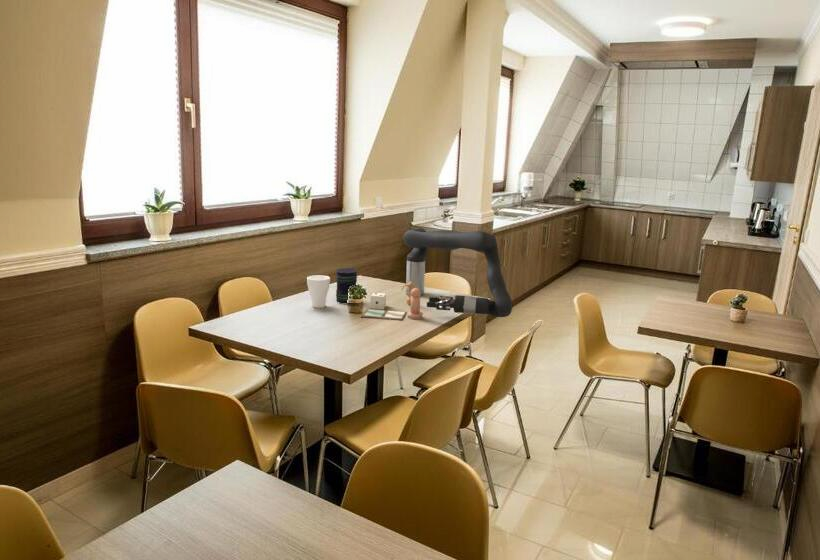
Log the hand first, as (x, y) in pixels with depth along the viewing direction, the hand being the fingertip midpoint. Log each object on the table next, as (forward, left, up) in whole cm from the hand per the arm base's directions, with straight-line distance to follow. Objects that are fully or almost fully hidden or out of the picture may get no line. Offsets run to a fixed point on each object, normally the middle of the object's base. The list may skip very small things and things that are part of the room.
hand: (428, 301), depth 258 cm
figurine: (-19, -11, -8) cm, 23 cm away
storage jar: (-19, -42, -8) cm, 46 cm away
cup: (-7, -52, -8) cm, 53 cm away
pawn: (0, -6, -7) cm, 9 cm away
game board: (0, -19, -7) cm, 21 cm away
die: (-12, -25, -7) cm, 28 cm away
